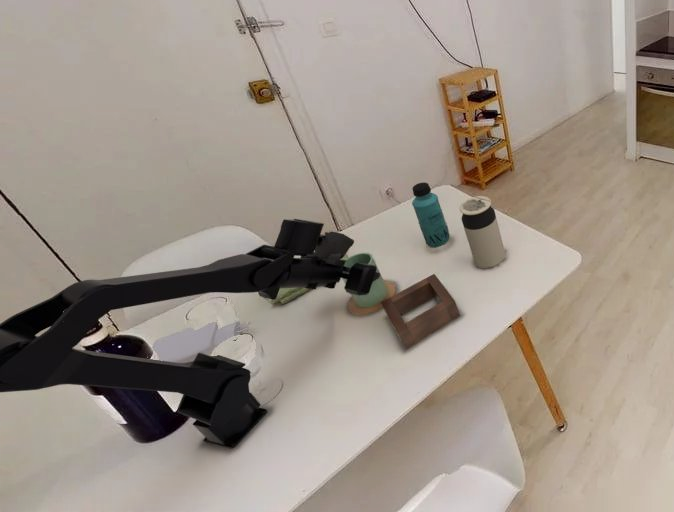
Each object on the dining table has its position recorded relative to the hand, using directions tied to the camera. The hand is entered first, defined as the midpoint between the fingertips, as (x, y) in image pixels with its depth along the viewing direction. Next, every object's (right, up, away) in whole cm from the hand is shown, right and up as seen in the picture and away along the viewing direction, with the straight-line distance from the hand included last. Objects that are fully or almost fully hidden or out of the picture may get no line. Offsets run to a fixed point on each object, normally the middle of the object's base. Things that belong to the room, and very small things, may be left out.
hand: (367, 272), depth 97 cm
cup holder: (+15, -9, -3) cm, 18 cm away
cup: (0, -6, +2) cm, 7 cm away
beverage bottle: (+8, +2, +19) cm, 21 cm away
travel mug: (+24, 0, +13) cm, 28 cm away
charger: (-28, -14, -9) cm, 33 cm away
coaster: (0, -7, +2) cm, 7 cm away
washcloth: (-21, -4, +9) cm, 23 cm away
